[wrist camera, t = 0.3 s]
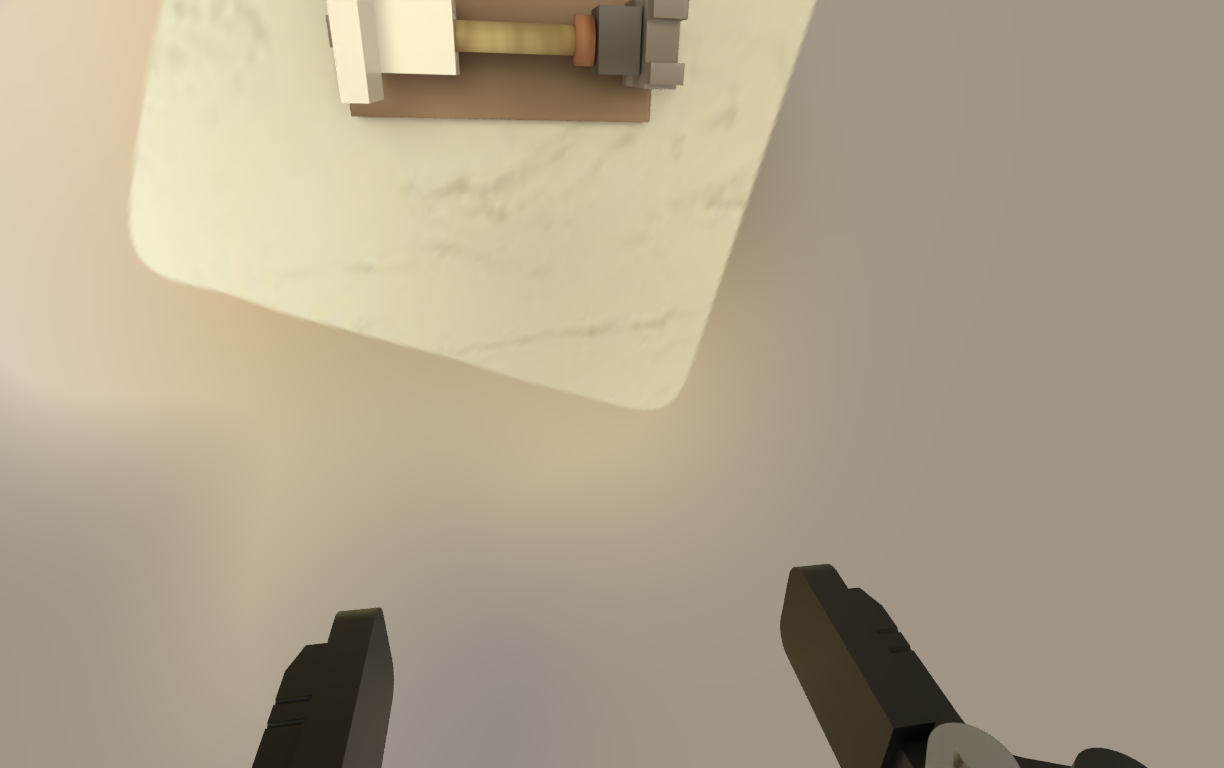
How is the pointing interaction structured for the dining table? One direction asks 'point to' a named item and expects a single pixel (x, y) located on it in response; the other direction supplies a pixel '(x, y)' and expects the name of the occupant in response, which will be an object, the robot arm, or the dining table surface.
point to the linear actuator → (546, 62)
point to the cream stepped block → (389, 42)
